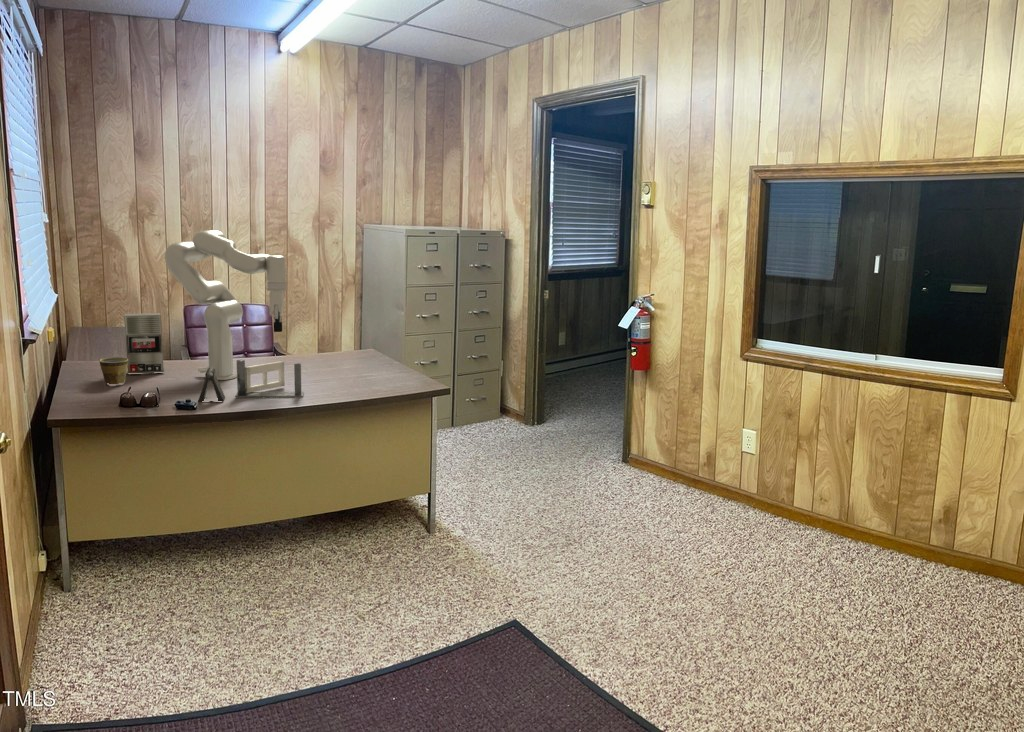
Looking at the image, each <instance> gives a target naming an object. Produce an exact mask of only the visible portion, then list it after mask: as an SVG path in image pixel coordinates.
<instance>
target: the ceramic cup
mask: <svg viewBox="0 0 1024 732" xmlns="http://www.w3.org/2000/svg"><path fill="white" fill-rule="evenodd" d="M127 365H128V359H127V357H122V356H121V357H120V356H117V357H115V356H114V357H112V356H111V357H105V358H100V359H99V366H100V369H101V372H102V375H103V380H104V383H105V382H106V383H109V384H119V383H124V382H125V383H126V377H127V371H128V367H127Z"/></svg>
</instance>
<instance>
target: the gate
mask: <svg viewBox="0 0 1024 732" xmlns="http://www.w3.org/2000/svg"><path fill="white" fill-rule="evenodd" d="M274 371H278V380H277V381H272V382H268V372H269V373H270V372H274ZM256 374H262V384H261V383H260V384H256V385H251V384H252V383H251V382H252V381H251V375H256ZM245 383H246V393H250V392H261V391H264V390H271V389H274V388H275V389H276V388H280V387H281V388H282V387H285V384H286V383H285V361H282V360H280V361H274V362H268V363H262V364H255V365H250V366H245Z"/></svg>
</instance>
